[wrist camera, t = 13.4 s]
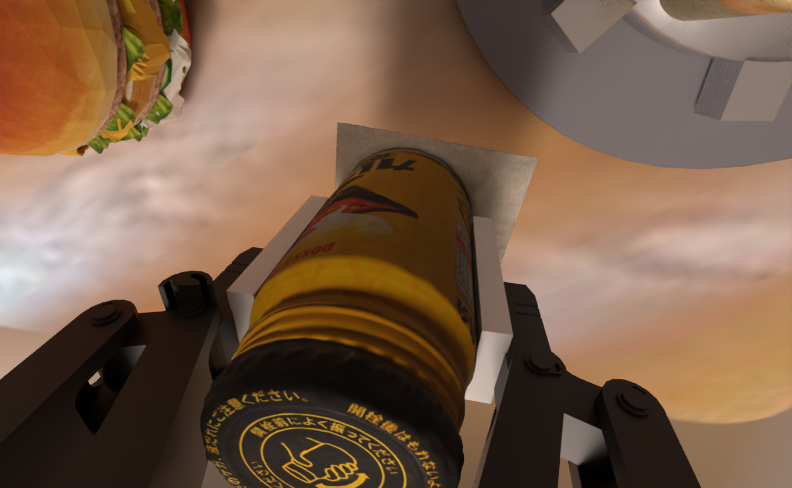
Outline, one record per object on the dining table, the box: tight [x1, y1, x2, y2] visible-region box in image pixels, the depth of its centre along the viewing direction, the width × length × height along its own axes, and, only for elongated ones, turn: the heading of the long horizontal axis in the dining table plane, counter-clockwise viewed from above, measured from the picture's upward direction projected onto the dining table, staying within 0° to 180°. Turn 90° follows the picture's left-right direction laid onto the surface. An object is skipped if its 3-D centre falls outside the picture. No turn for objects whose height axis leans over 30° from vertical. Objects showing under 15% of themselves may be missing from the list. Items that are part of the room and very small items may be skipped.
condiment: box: [200, 123, 538, 488], centre depth 12 cm, size 7×8×12 cm
